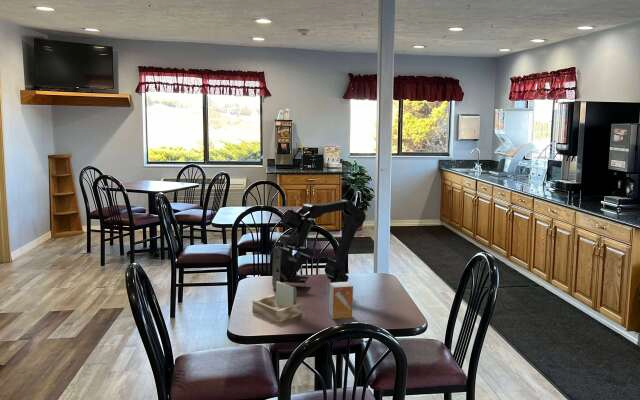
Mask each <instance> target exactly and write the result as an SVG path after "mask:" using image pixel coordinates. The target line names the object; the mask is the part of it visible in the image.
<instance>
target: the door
mask: <svg viewBox="0 0 640 400" xmlns="http://www.w3.org/2000/svg"><path fill="white" fill-rule="evenodd" d="M275 295H276V304H277V305H280V306H282V307H289V306H292V305H295V304H297V287H296V286H292V285H289V284H286V283H285V282H283V283H281V282H278V281H277V282H276V288H275Z"/></svg>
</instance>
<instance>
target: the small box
mask: <svg viewBox="0 0 640 400" xmlns="http://www.w3.org/2000/svg"><path fill="white" fill-rule="evenodd" d="M329 283H330V282H329ZM328 294H329V296H328V297H329V298H328V301H329V302H328V304H329V305H328V307H329V309H328V313H329V316H330V317H331V319H333V320H337V319H353V311H354V310H353V307H354V306H353V305H354V304H353V303H354V302H353V300H354V285H352V284H351V282H350V281H347V282H336V283H330V289H329V288H328Z"/></svg>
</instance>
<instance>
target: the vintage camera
mask: <svg viewBox="0 0 640 400" xmlns="http://www.w3.org/2000/svg"><path fill="white" fill-rule="evenodd" d="M278 247H279V246H277V245H275V247H274V248H273V249H272V250H273V251H272V273H271V274H272V275H271V276H272V277H271V279H272V280H271V281H272V282H271V284H272V288H274V289H276V282H277V281H278V282H281V283H288V284H303V287H306V285H305V284H306V283H307V282H308V281H309V279H310V277H308V276H305V275H304V276H302V275H297V274H296V273H298V272H300V271H301V267H302V266H301V267H300V268H299V269H298V270H297V271H295V270H294V268H295V264H296V261H297V258H296V257H293V256H291V255H290V257H289V258H288V260H287V261H286V263H285V265H284V266H281V251H280V249H279V248H278Z"/></svg>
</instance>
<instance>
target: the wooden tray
mask: <svg viewBox="0 0 640 400" xmlns="http://www.w3.org/2000/svg"><path fill="white" fill-rule="evenodd" d="M251 302H252V312H253V313H255V314H257V315H259V316H262V317H264V318H267V319H269V320H270V321H274V322H276V323H281V322H283V321H284V322H285V321H287V320H290V319H293V318H296V317H298V316H299V317H300V316H301V315H302V311H300V310H301V309H300V307H301V304H300V303H296V304H295V305H292V306H289V307H282V306H280V305H277V304H276V294H272V295H269V296H268V295H267V296H264V297H261V298H258V299H254V300H252V301H251Z"/></svg>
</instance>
